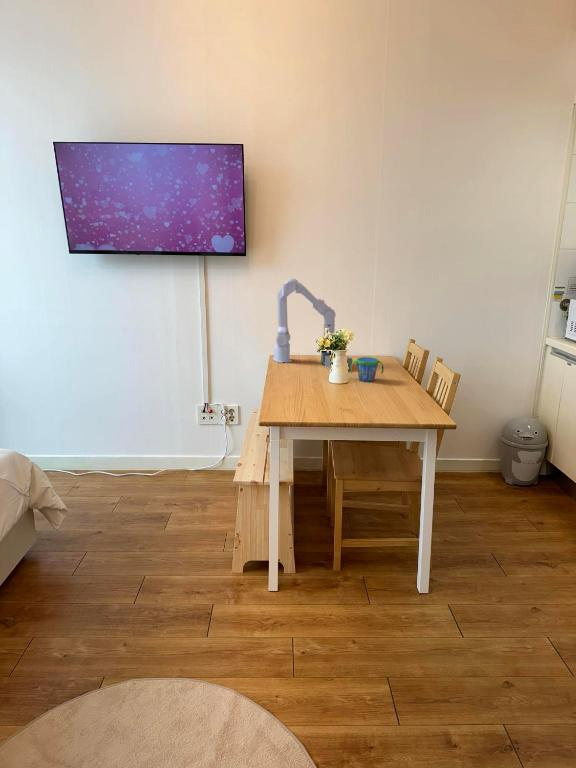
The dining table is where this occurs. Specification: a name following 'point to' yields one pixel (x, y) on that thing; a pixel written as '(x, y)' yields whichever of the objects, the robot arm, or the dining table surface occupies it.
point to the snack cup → (367, 368)
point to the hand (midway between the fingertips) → (327, 357)
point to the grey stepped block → (326, 360)
